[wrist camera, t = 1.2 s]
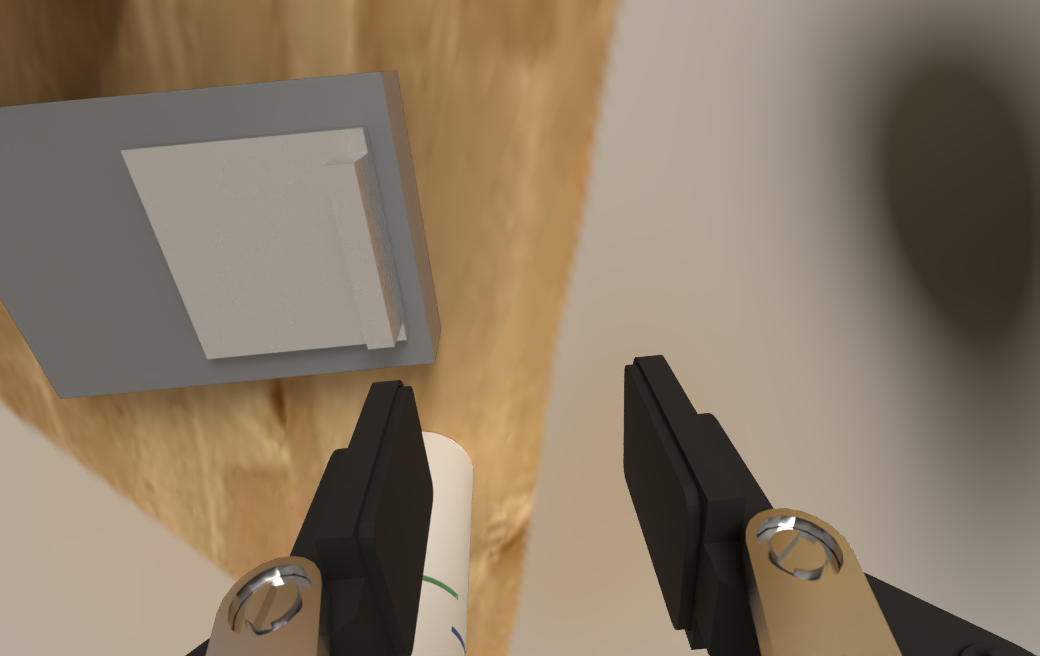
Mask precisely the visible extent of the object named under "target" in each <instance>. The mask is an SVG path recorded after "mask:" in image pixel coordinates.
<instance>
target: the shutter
mask: <svg viewBox="0 0 1040 656" xmlns="http://www.w3.org/2000/svg"><path fill="white" fill-rule="evenodd" d="M120 151H121V153H122V156H123V158H124V160H125V163H126V165H127V168H128V170H129V172H130V175H131V177H132V180H133V182H134V184H135V187H136V189H137V192H138V194H139V196H140V199H141V201H142V204H143V206H144V208H145V211H146V213H147V216H148V218H149V220H150V223H151V225H152V228H153V230H154V232H155V235H156V237H157V240H158V242H159V244H160V247H161V249H162V252H163V254H164V256H165V259H166V261H167V264H168V266H169V268H170V271H171V273H172V276H173V278H174V280H175V283H176V285H177V288H178V290H179V292H180V295H181V297H182V300H183V302H184V304H185V307H186V309H187V312H188V314H189V316H190V319H191V321H192V324H193V326H194V328H195V331H196V333H197V336H198V338H199V340H200V343H201V345H202V348H203V350H204V352H205V355H206V357H207V359H214V358H225V357H235V356H245V355H256V354H266V353H277V352H287V351H297V350H308V349H318V348H329V347H339V346H349V345H360V344H367V348H368V349H377V348H387V347H395V344H396V341H401V340H407V337H408V334H409V330H408V326H407V321H406V316H405V311H404V306H403V301H402V296H401V291H400V286H399V282H398V277H397V272H396V267H395V262H394V257H393V252H392V247H391V242H390V237H389V233H388V228H387V223H386V218H385V213H384V208H383V203H382V198H381V193H380V189H379V184H378V179H377V174H376V169H375V164H374V159H373V154H372V149H371V144H370V140H369V135H368V130H367V126H360V127H349V128H338V129H328V130H317V131H306V132H296V133H285V134H274V135H263V136H253V137H242V138H231V139H221V140H210V141H199V142H189V143H178V144H167V145H157V146H146V147H135V148H129V149H125V150H120Z"/></svg>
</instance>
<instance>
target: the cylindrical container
mask: <svg viewBox="0 0 1040 656" xmlns="http://www.w3.org/2000/svg"><path fill="white" fill-rule="evenodd" d="M422 435H423V440H424V445H425V449H426V454H427V459H428V463H429V468H430V473H431V478H432V483H433V506H432V513H431V520H430V528H429V535H428V543H427V550H426V558H425V565H424V572H423V580H422V587H421V595H420V602H419V610H418V617H417V624H416V632H415V639H414V647H413V652H412V655H411V656H465V653H466V631H467V608H468V585H469V562H470V540H471V518H472V496H473V474H474V473H473V465H472V462H471V459H470V457H469V456H468V454H467V452H466V451H465V450H464V449H463V448H462V447H461V446H460V445H459V444H457V443H456V442H455V441H453V440H452V439H449V438H447V437H445V436H443V435H439V434H436V433H432V432H422Z"/></svg>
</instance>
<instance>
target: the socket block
mask: <svg viewBox="0 0 1040 656" xmlns="http://www.w3.org/2000/svg"><path fill="white" fill-rule="evenodd" d="M360 126H367V130H368V135H369V140H370V144H371V149H372V154H373V159H374V164H375V169H376V174H377V179H378V184H379V189H380V193H381V198H382V203H383V208H384V213H385V218H386V223H387V228H388V233H389V237H390V242H391V247H392V252H393V257H394V262H395V267H396V272H397V277H398V282H399V286H400V291H401V296H402V301H403V306H404V311H405V316H406V321H407V326H408V330H409V334H408V337H407V340H401V341H396V344H395V347H387V348H377V349H368V348H367V344H360V345H349V346H339V347H329V348H318V349H308V350H297V351H287V352H277V353H266V354H256V355H245V356H235V357H225V358H214V359H207V357H206V355H205V352H204V350H203V348H202V345H201V343H200V340H199V338H198V336H197V333H196V331H195V328H194V326H193V324H192V321H191V319H190V316H189V314H188V312H187V309H186V307H185V304H184V302H183V300H182V297H181V295H180V292H179V290H178V288H177V285H176V283H175V280H174V278H173V276H172V273H171V271H170V268H169V266H168V264H167V261H166V259H165V256H164V254H163V252H162V249H161V247H160V244H159V242H158V240H157V237H156V235H155V232H154V230H153V228H152V225H151V223H150V220H149V218H148V216H147V213H146V211H145V208H144V206H143V204H142V201H141V199H140V196H139V194H138V192H137V189H136V187H135V184H134V182H133V180H132V177H131V175H130V172H129V170H128V168H127V165H126V163H125V160H124V158H123V156H122V153H121V151H120V150H125V149H129V148H135V147H146V146H157V145H167V144H178V143H189V142H199V141H210V140H221V139H231V138H242V137H253V136H263V135H274V134H285V133H296V132H306V131H317V130H328V129H338V128H349V127H360ZM0 299H1V300H2V302H3V304H4V305H5V307H6V309H7V310H8V312H9V314H10V315H11V317H12V319H13V321H14V322H15V324H16V326H17V327H18V329H19V331H20V332H21V334H22V336H23V337H24V339H25V341H26V342H27V344H28V346H29V348H30V349H31V351H32V353H33V354H34V356H35V358H36V359H37V361H38V363H39V364H40V366H41V368H42V370H43V371H44V373H45V375H46V376H47V378H48V380H49V381H50V383H51V385H52V386H53V388H54V390H55V392H56V393H57V395H58V397H59V398H60V399H67V398H77V397H88V396H98V395H108V394H119V393H129V392H139V391H150V390H160V389H171V388H181V387H191V386H202V385H212V384H222V383H233V382H243V381H254V380H264V379H274V378H285V377H295V376H305V375H316V374H326V373H336V372H347V371H357V370H368V369H378V368H388V367H399V366H409V365H419V364H430V363H435V358H436V353H437V348H438V343H439V338H440V332H441V325H440V319H439V314H438V308H437V302H436V296H435V290H434V285H433V279H432V273H431V267H430V261H429V255H428V250H427V244H426V238H425V232H424V226H423V220H422V215H421V209H420V203H419V197H418V191H417V185H416V180H415V174H414V168H413V162H412V156H411V150H410V145H409V139H408V133H407V127H406V121H405V115H404V110H403V104H402V98H401V92H400V86H399V80H398V75H397V71H381V72H370V73H359V74H349V75H338V76H327V77H316V78H306V79H295V80H284V81H273V82H263V83H252V84H241V85H230V86H220V87H209V88H198V89H187V90H177V91H166V92H155V93H144V94H134V95H123V96H112V97H101V98H91V99H80V100H69V101H58V102H48V103H37V104H26V105H15V106H5V107H0Z"/></svg>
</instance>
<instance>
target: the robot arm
mask: <svg viewBox="0 0 1040 656" xmlns="http://www.w3.org/2000/svg"><path fill="white" fill-rule="evenodd" d="M624 380H625V381H624V462H623V463H624V474H625V479H626V483H627V485H628V489H629V492H630V495H631V498H632V501H633V504H634V507H635V510H636V513H637V517H638V520H639V523H640V526H641V529H642V532H643V535H644V538H645V541H646V544H647V547H648V550H649V554H650V557H651V560H652V563H653V566H654V569H655V572H656V575H657V578H658V581H659V585H660V587H661V591H662V594H663V597H664V600H665V603H666V606H667V609H668V612H669V616H670V618H671V621H672V624H673V626H674V628H675V629H676V630H682V629H685V632H686V635H687V638H688V641H689V644H690V647H691V650H695V649H705V648H707V651H708V654H709V655H710V656H1036V655H1034V654H1032V653H1031V652H1029V651H1027V650H1025V649H1024V648H1022V647H1020V646H1018V645H1016V644H1014V643H1012V642H1010V641H1008V640H1005V639H1003V638H1001V637H999V636H997V635H995V634H993V633H991V632H989V631H987V630H984V629H982V628H980V627H978V626H976V625H974V624H972V623H970V622H968V621H966V620H963V619H961V618H959V617H957V616H955V615H953V614H951V613H949V612H947V611H944V610H942V609H940V608H938V607H936V606H934V605H932V604H930V603H928V602H925V601H923V600H921V599H919V598H917V597H915V596H913V595H911V594H909V593H907V592H904V591H902V590H900V589H898V588H896V587H894V586H892V585H889V584H888V583H885V582H883V581H881V580H879V579H877V578H875V577H873V576H871V575H869V574H866V573H864V572H863V571H862V568H861V566H860V564H859V562H858V560H857V557H856V555H855V553H854V551H853V549H852V548H851V546H850V545H849V543H848V542H847V540H846V539H845V537H844V536H843V535H841V534H840V533H839V532H838V531H837V530H836V529H835V528H834V527H833V526H831V525H830V524H828V523H826V522H825V521H823V520H821V519H820V518H818V517H816V516H813V515H811V514H808V513H805V512H803V511H798V510H793V509H787V508H780V509H774V508H773V507H772V506H771V504H770V503H769V501H768V499H767V497H766V496H765V494H764V493H763V491H762V490H761V488H760V487H759V485H758V483H757V482H756V480H755V479H754V477H753V476H752V474H751V472H750V471H749V469H748V468H747V466H746V464H745V463H744V461H743V460H742V458H741V457H740V455H739V453H738V452H737V450H736V449H735V447H734V446H733V444H732V442H731V441H730V439H729V438H728V436H727V435H726V433H725V431H724V430H723V428H722V427H721V425H720V424H719V422H718V420H717V419H716V418H715V417H714V415H712V414H710V413H704V414H697V412H696V410H695V409H694V407H693V406H692V404H691V402H690V400H689V399H688V397H687V395H686V394H685V392H684V390H683V389H682V387H681V385H680V383H679V382H678V380H677V378H676V377H675V375H674V373H673V372H672V370H671V368H670V366H669V365H668V363H667V361H666V360H665V358H664V357H663V355H655V356H644V357H635V359H634V361H633V365H626V366H625V374H624ZM432 506H433V483H432V478H431V473H430V468H429V463H428V459H427V454H426V449H425V445H424V440H423V435H422V430H421V426H420V421H419V416H418V412H417V407H416V402H415V397H414V393H413V389H412V387H411V386H405V387H403V384H402V382H401V381H400V380H396V381H385V382H375V383H373V384H372V385H371V388H370V390H369V393H368V396H367V398H366V401H365V404H364V406H363V409H362V412H361V414H360V417H359V419H358V422H357V425H356V427H355V430H354V433H353V435H352V438H351V441H350V443H349V446H348V448H344V449H337V450H335V451H334V452H333V454H332V455H331V457H330V460H329V462H328V464H327V467H326V469H325V472H324V474H323V477H322V479H321V481H320V484H319V486H318V489H317V491H316V494H315V496H314V498H313V501H312V503H311V506H310V508H309V511H308V513H307V515H306V518H305V520H304V523H303V525H302V528H301V530H300V532H299V535H298V537H297V540H296V542H295V545H294V547H293V549H292V552H291V554H290V556H288V557H282V558H276V559H274V560H271V561H269V562H266V563H263V564H261V565H260V566H258V567H256V568H255V569H253V570H251V571H250V572H248V573H247V574H245V575H244V576H243V577H242V578H241V579H240V580H239V581H238V582H236V583H235V584H234V585H233V587H232V588H231V589H230V591H229V592H228V593H227V594H226V596H225V597H224V598H223V600H222V603H221V605H220V607H219V609H218V612H217V614H216V618H215V622H214V626H213V629H212V633H211V637H210V638H209V639H208V640H206V641H205V642H204V643H202V644H201V645H199V646H198V647H197V648H196V649H194V650H193V651H191V652H190V653H189V654H187V655H186V656H411V655H412V652H413V647H414V639H415V632H416V624H417V617H418V610H419V602H420V595H421V587H422V580H423V572H424V565H425V558H426V550H427V543H428V535H429V528H430V520H431V513H432Z"/></svg>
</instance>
